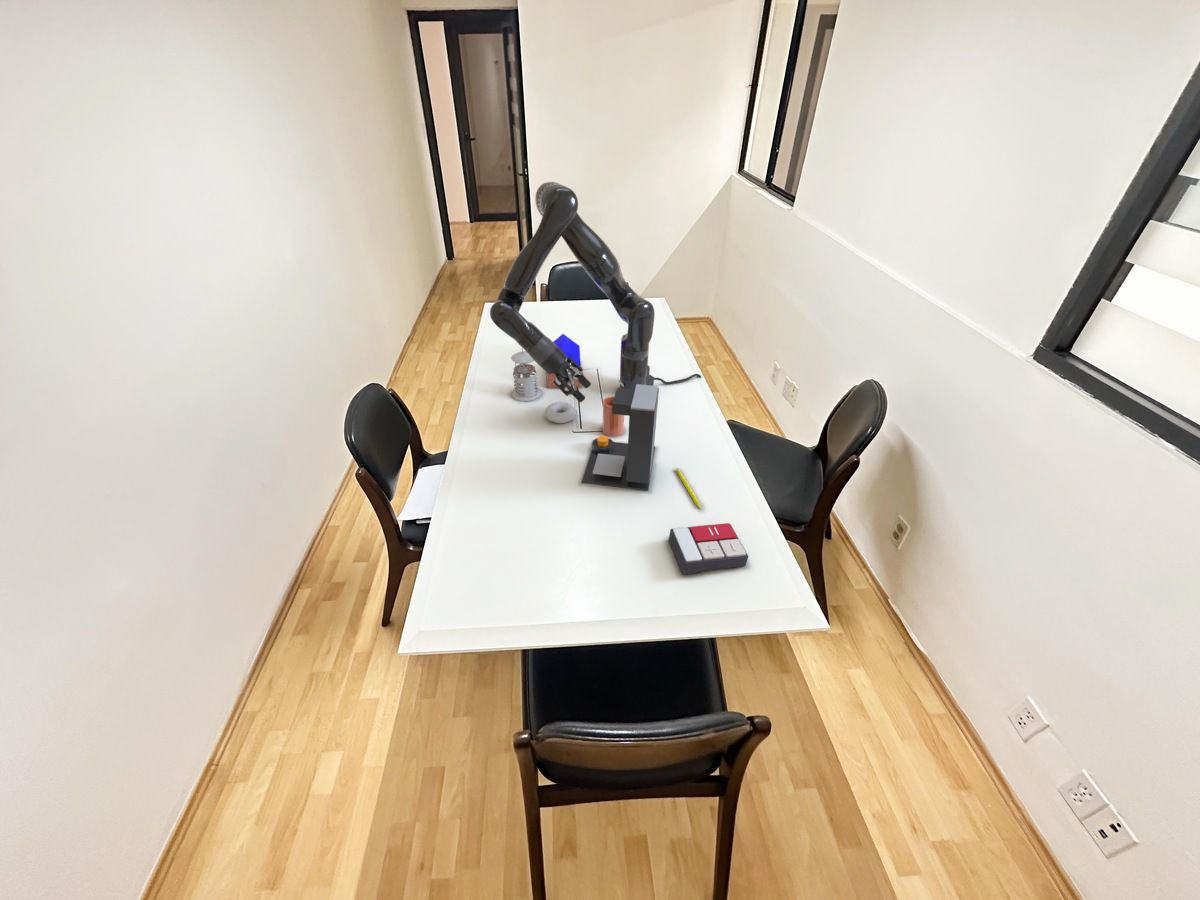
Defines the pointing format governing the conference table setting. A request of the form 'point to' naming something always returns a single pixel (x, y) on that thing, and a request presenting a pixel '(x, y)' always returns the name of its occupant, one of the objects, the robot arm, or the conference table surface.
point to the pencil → (688, 488)
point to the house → (570, 351)
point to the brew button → (602, 441)
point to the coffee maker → (634, 434)
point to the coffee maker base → (606, 480)
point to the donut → (563, 407)
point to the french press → (524, 378)
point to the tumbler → (611, 419)
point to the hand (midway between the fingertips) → (586, 393)
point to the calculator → (707, 548)
